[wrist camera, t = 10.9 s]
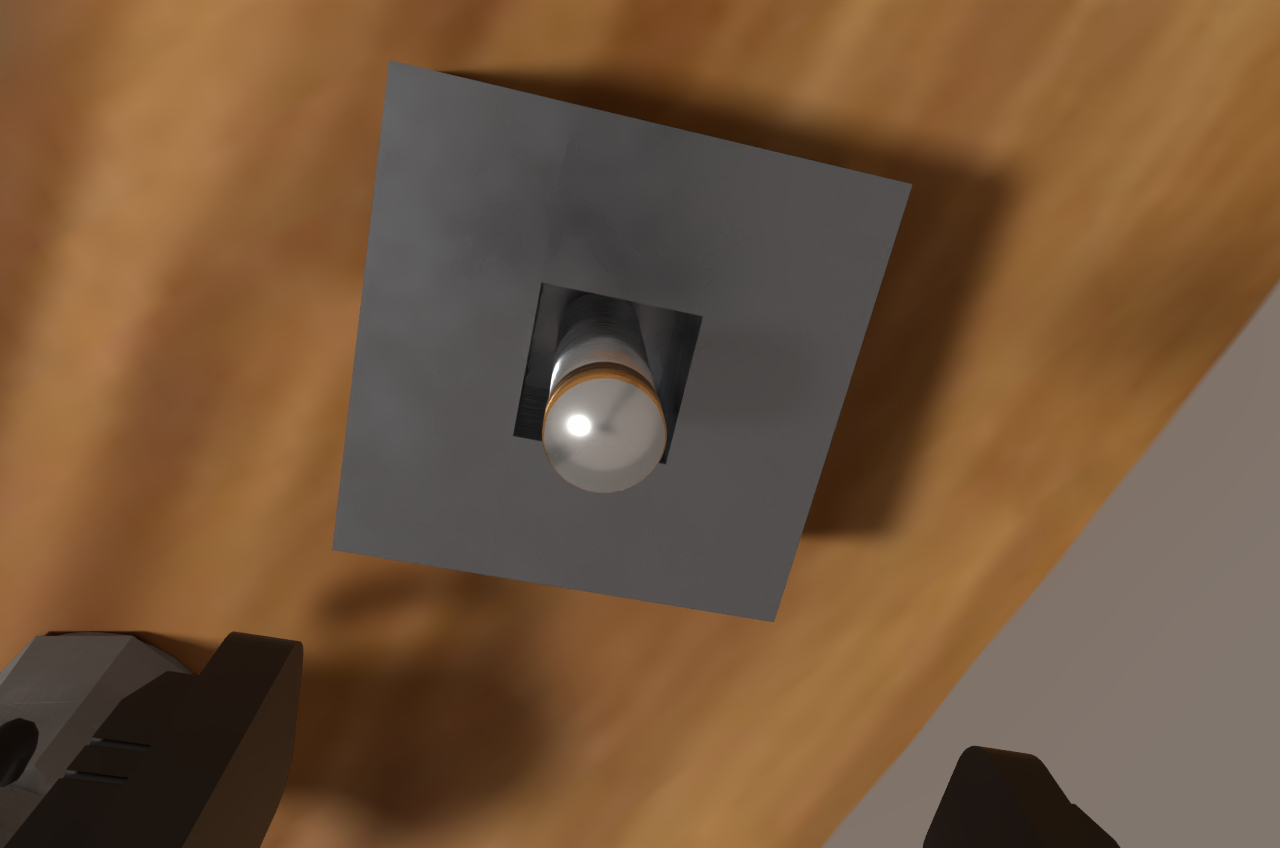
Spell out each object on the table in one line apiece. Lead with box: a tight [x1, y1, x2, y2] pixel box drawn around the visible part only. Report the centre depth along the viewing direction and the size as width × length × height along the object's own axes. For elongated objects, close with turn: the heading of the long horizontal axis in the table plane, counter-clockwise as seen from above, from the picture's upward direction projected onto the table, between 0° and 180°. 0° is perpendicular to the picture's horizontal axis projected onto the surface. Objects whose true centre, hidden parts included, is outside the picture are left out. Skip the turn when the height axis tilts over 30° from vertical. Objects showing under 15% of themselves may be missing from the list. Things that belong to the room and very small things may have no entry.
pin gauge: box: [542, 293, 667, 493], centre depth 24 cm, size 3×3×10 cm
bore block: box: [332, 60, 913, 622], centre depth 27 cm, size 14×14×6 cm
